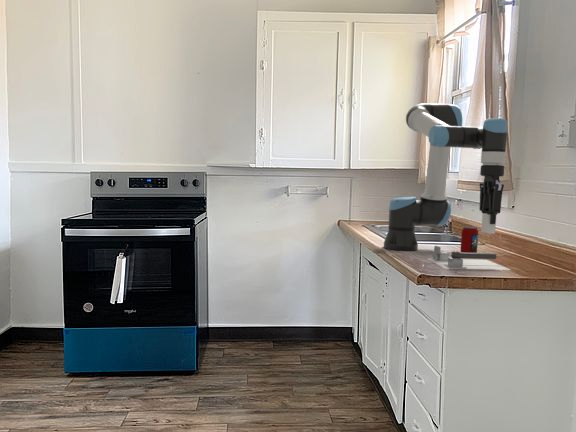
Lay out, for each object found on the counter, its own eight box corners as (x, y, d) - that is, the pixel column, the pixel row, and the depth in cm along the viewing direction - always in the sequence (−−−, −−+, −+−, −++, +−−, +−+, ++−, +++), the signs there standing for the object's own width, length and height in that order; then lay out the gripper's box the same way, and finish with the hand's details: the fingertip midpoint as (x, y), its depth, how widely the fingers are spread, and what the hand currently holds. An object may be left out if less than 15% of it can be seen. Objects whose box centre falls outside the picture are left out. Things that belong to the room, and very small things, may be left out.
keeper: (432, 258, 197) (433, 245, 197) (445, 259, 197) (446, 246, 197) (435, 260, 194) (436, 247, 193) (448, 260, 194) (449, 247, 193)
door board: (426, 261, 198) (427, 258, 198) (486, 262, 199) (486, 259, 199) (445, 271, 178) (445, 268, 178) (511, 272, 179) (511, 269, 179)
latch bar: (453, 258, 180) (453, 251, 180) (449, 256, 183) (450, 250, 183) (496, 259, 181) (497, 252, 181) (492, 257, 184) (493, 251, 184)
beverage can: (477, 256, 213) (478, 228, 211) (460, 255, 215) (461, 227, 214) (476, 253, 219) (478, 226, 218) (460, 252, 221) (461, 225, 220)
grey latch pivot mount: (443, 264, 185) (444, 256, 185) (459, 265, 185) (460, 257, 185) (449, 268, 179) (450, 259, 179) (466, 268, 179) (466, 260, 179)
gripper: (515, 164, 164) (510, 236, 166) (492, 165, 180) (488, 230, 182) (492, 164, 163) (488, 235, 166) (471, 164, 180) (467, 229, 182)
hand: (488, 232), depth 174 cm, fingers open, 3 cm apart
